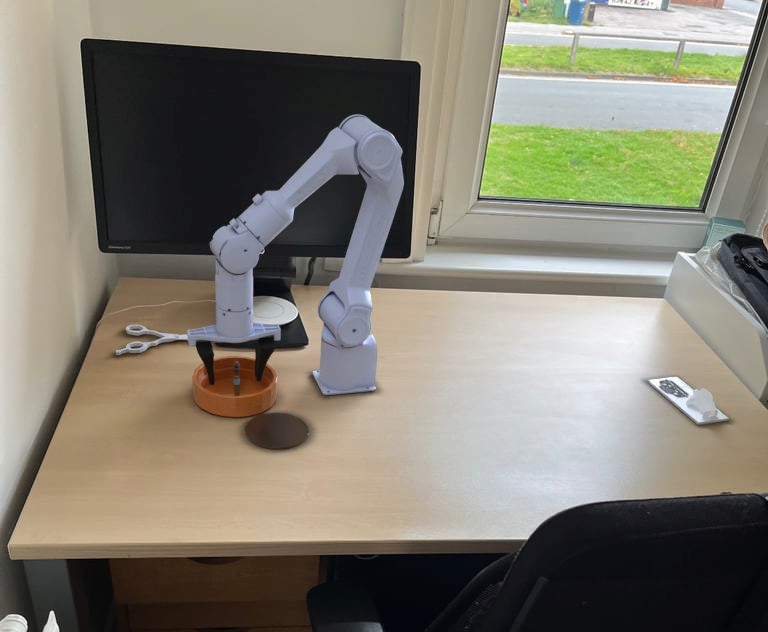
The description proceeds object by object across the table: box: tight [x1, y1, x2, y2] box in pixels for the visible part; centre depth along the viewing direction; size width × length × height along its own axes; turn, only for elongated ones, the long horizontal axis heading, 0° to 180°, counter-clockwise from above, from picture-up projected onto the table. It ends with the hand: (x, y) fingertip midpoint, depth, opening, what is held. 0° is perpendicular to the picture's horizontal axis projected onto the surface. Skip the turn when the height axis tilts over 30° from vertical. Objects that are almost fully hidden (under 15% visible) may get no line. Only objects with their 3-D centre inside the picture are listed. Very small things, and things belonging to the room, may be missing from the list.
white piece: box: [647, 376, 730, 426], centre depth 149 cm, size 15×7×4 cm, turn 20°
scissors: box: [115, 324, 188, 356], centre depth 152 cm, size 11×1×20 cm
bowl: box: [191, 355, 278, 418], centre depth 136 cm, size 14×14×4 cm
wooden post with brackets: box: [233, 361, 240, 396], centre depth 137 cm, size 2×8×4 cm, turn 10°
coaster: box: [244, 412, 310, 451], centre depth 130 cm, size 10×10×1 cm
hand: (234, 380), depth 136 cm, fingers open, 7 cm apart
